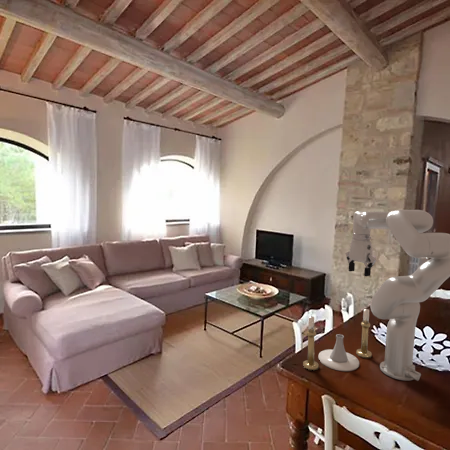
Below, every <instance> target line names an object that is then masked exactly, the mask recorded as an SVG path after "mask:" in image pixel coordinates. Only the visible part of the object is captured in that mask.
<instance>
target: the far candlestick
mask: <svg viewBox="0 0 450 450" xmlns="http://www.w3.org/2000/svg"><path fill="white" fill-rule="evenodd" d="M362 318H363V319H362V321H361V322H360V325H361V328H362V329H361V342H360V343H361V346H360V348H358V349H356V352H355V353H356V354H355V355H357V357H359V358H363V359H371V358H372V355H373V354H372V352H371V351H370V350H368V342H369V341H368V340H369V328H370V327H371V323H370V322H369V319H370V309H368V308H364V309H363V315H362Z"/></svg>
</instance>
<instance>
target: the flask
mask: <svg viewBox="0 0 450 450" xmlns="http://www.w3.org/2000/svg"><path fill="white" fill-rule="evenodd" d="M335 339H336V341H335V344H334V347H333V351H332V353H331V355H330V358H331V359H332V360H333V361H336V362H339V363H344V362H347V360H348V358H347V355H346V349H345V346H344V339H345V336H344V335H343V334H341V333H339V334H336V335H335Z"/></svg>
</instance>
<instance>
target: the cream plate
mask: <svg viewBox="0 0 450 450" xmlns="http://www.w3.org/2000/svg"><path fill="white" fill-rule="evenodd" d="M333 349H334V348H333ZM333 349H324V350H322V351H319V353H318V357H317V358H318V360H320V361H319V362H320V363H321V364H322V365H323V366H325V367H326V368H329V369H332V370H335V371H340V372H353V371H355V370H358V368H359V367H360V361H359V359H358V358H357V357H356V356H355V355H353V354H351V353H349V352H346V351H345V352H346V355H347V358H348V360H347V362H344V363H339V362H336V361H333V360H332V359H331V358H330V355H331V353H332V351H333Z"/></svg>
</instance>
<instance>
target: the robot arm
mask: <svg viewBox="0 0 450 450" xmlns="http://www.w3.org/2000/svg"><path fill="white" fill-rule="evenodd" d="M433 225H434V218H433V216H432V215H431V214H430V213H429V212H427V211H426V210H422V209H395V210H394V209H393V210H391V211H368V210H367V211H365V210H357V211H355V212H354V213H353V224H352V239H351V241H350V245H349V251H348V252H346V253H345V255H346V260H347V263H348V272H355V268H356V265H355V264H356V262H358V263H362V264H364V266H365V267H364V273H363V275H364V277H370V276H371V271H372V268H373V266H374V265H375V263H376V262H377V259H376V258H375V257H374V256H373V244H372V240H371V239H372V236H371V230H372V229H374V230H375V229H383V230H384V229H388V230H390V232H391V233H392V236H394V238H395V239H396V241H397V242H398V244H399V246H401V248H402V250H403V251H404V253H406V254H407V255H408V256H409V257H411V258H415V259H428V260H426V261H424V262H423V263H422V264H421V265H419V266H418V267H417V269H416V270H415V271H414V272H413V273H411V274H409V275H401V276H400V275H399V276H391V277H389V278H387V279H386V280H385V281H383V283H382V284H381V285H380V286H379V288H378V289H377V290H376V292H375V293H374V295H372V297H371V301H370V306H369V307H370V311H371V313H372V315H373V316H374V317H375V318H377V319H380V320H389V321H388V322H387V326H386V332H385V333H386V336H385V351H384V361H382V362H380V364H379V369H380V371H381V372H382V373H383V374H385V375H386V376H388V377H390V378H392V379H395V380H399V381H404V382H405V381H413V380H415V381H417V382H418V381H419V380H420V378H421V376H422V374H421V372H418V371H416V365H415V364H413V363H414V349H415V348H414V347H415V338H416V337H415V335H416V327H417V323H418V318H419V315H420V310H421V303H424V302H425V301H426V300H428V299H429V298H430V297H431V296H432V295H433V294H434V293H435V292H436V291H437V290H438V289H439V288H440V287H441V285H443V283H444V282H445V281H446V280H448V279H449V278H450V233H446V232H427V231H430V229H432V227H433Z"/></svg>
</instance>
